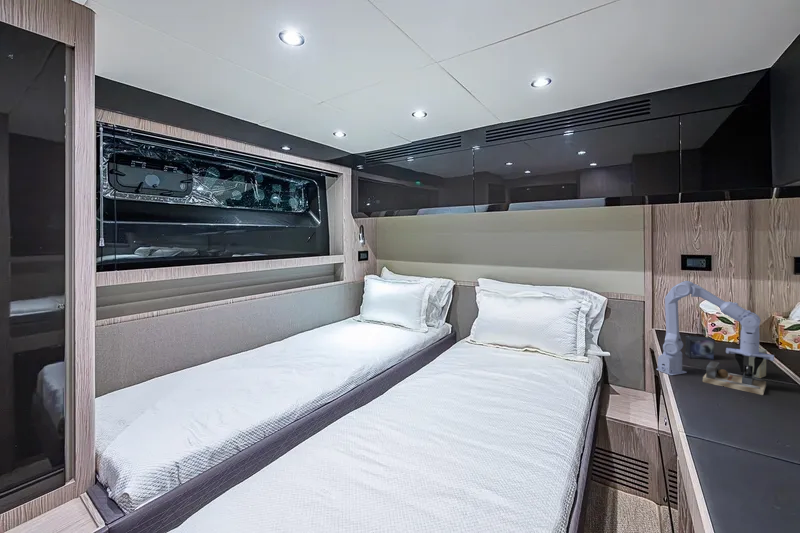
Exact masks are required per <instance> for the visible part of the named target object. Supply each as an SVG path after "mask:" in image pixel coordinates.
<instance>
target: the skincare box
mask: <svg viewBox="0 0 800 533" xmlns="http://www.w3.org/2000/svg"><path fill="white" fill-rule="evenodd" d="M767 351H768V350H767V349H764V348H759V352H761V353H765V354H768V352H767ZM754 359H755V357H749V356H748V365H751V366H753V372H754ZM766 376H767V359H763V362H762V363H761V364H760V366H759V367H758V369H757V372H756V375H755V377H754V378H758V379H762V378H765V377H766Z"/></svg>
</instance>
